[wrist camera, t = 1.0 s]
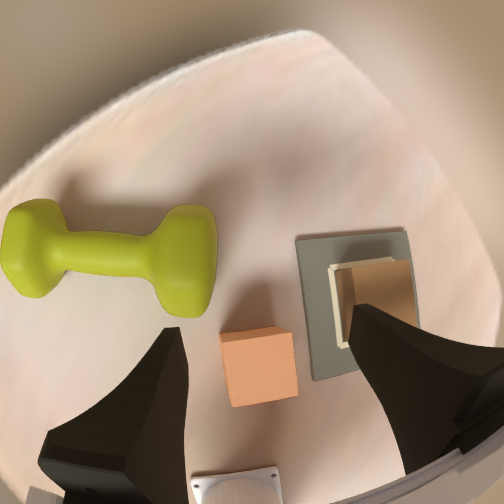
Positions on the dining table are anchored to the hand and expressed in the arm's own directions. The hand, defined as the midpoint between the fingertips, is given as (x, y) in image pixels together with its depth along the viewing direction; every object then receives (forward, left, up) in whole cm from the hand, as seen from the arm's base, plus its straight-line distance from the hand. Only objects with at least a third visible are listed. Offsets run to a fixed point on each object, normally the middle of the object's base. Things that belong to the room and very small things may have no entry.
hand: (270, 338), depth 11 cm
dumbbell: (+6, +9, -12) cm, 16 cm away
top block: (-3, -1, -12) cm, 12 cm away
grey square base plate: (0, -12, -12) cm, 16 cm away
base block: (0, -12, -11) cm, 16 cm away
